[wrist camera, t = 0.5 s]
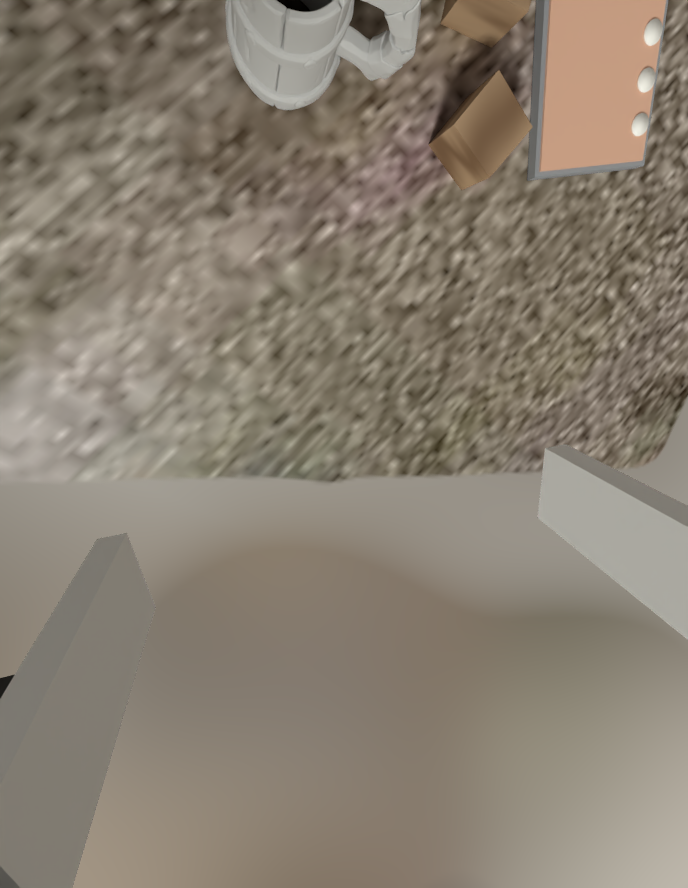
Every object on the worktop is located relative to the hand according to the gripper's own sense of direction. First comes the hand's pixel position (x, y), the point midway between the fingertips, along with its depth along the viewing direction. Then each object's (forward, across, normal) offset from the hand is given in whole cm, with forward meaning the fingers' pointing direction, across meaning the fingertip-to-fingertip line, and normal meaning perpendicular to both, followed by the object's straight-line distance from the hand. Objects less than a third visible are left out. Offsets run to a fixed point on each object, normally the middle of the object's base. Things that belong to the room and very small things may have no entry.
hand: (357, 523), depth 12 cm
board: (+26, +29, +25) cm, 46 cm away
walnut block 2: (+26, +17, +16) cm, 35 cm away
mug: (+26, +5, +22) cm, 35 cm away
